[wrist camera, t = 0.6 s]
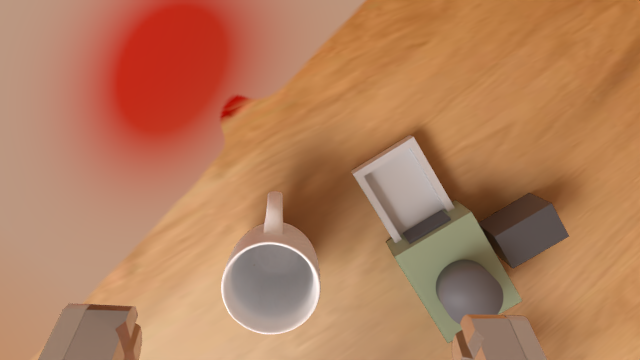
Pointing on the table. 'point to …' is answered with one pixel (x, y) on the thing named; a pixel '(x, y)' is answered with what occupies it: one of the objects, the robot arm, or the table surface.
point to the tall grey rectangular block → (523, 229)
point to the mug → (272, 275)
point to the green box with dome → (435, 239)
